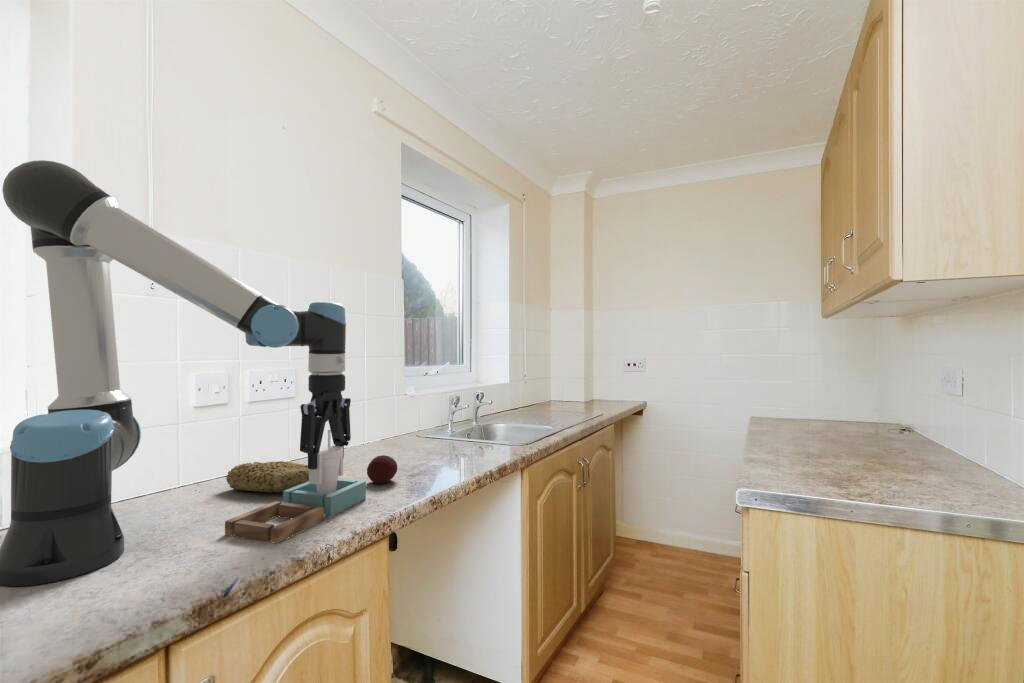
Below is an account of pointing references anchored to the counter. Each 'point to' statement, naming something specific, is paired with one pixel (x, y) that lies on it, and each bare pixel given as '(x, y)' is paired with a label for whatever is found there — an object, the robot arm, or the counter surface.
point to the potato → (382, 469)
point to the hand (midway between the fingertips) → (326, 479)
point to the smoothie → (329, 468)
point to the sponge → (267, 476)
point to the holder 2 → (333, 503)
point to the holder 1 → (254, 529)
